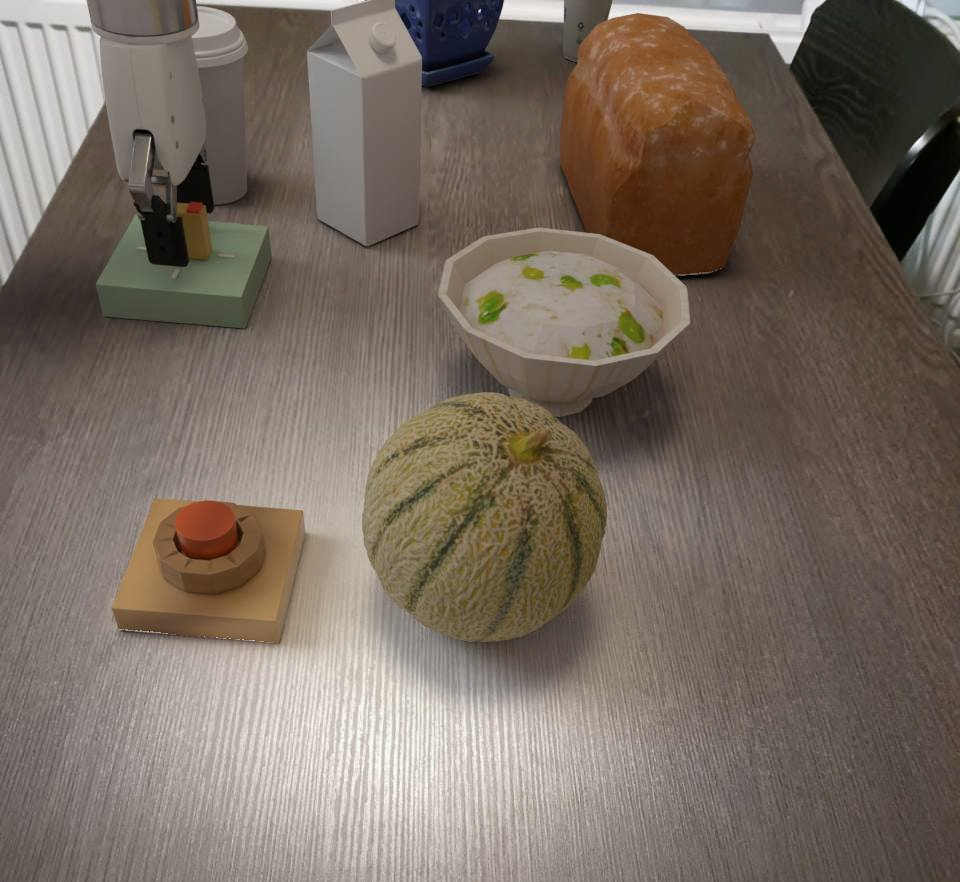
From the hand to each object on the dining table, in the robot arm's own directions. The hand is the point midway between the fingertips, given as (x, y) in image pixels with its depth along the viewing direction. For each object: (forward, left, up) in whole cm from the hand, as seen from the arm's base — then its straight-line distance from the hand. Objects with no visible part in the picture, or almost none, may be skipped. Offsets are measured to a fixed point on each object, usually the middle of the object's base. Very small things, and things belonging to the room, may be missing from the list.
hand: (183, 235), depth 82 cm
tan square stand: (+10, -35, -5) cm, 37 cm away
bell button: (+10, -35, -1) cm, 36 cm away
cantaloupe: (+27, -35, -5) cm, 44 cm away
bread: (+41, +21, -5) cm, 46 cm away
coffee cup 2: (+36, +63, -5) cm, 73 cm away
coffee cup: (-2, +18, -5) cm, 19 cm away
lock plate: (0, 0, -5) cm, 5 cm away
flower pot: (+17, +54, -5) cm, 57 cm away
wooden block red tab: (0, 0, -2) cm, 2 cm away
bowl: (+32, -11, -5) cm, 34 cm away
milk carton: (+14, +14, -5) cm, 20 cm away
